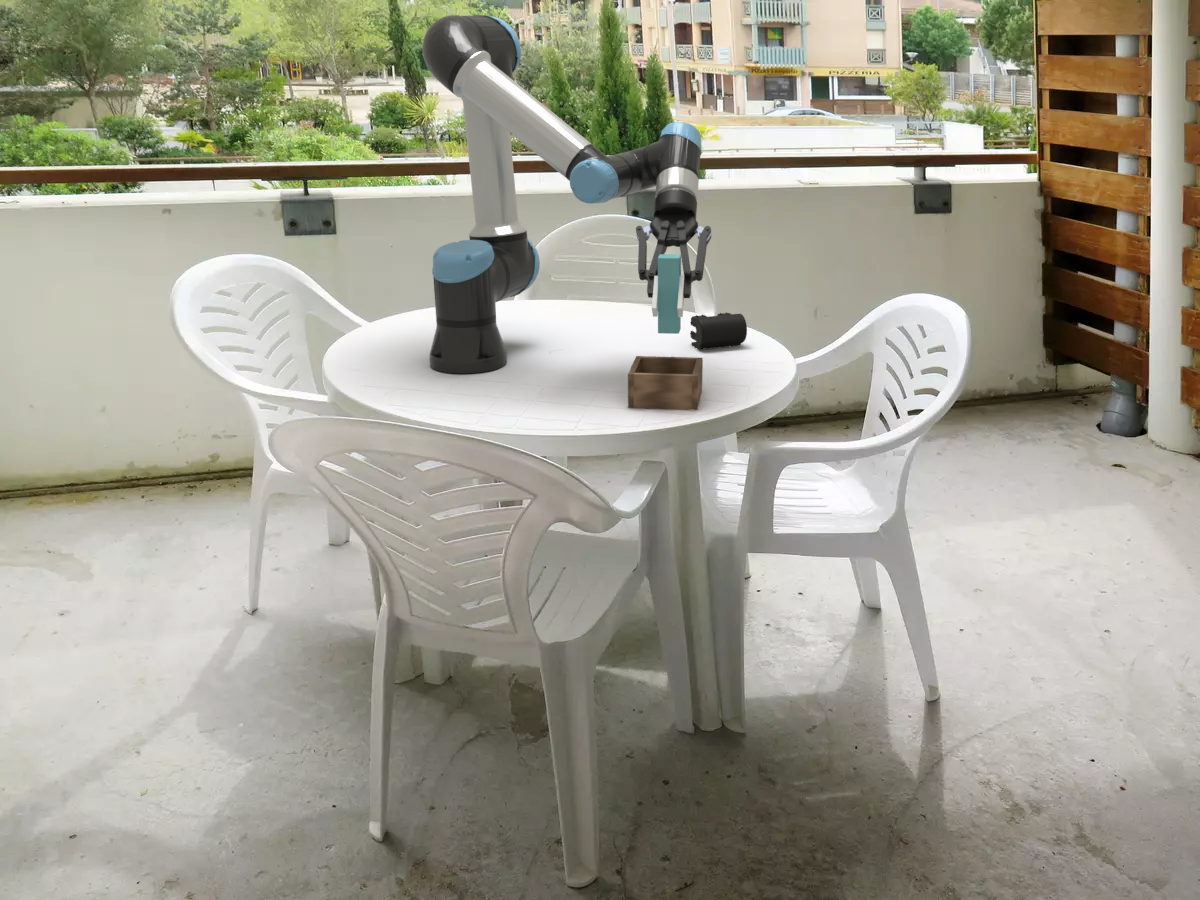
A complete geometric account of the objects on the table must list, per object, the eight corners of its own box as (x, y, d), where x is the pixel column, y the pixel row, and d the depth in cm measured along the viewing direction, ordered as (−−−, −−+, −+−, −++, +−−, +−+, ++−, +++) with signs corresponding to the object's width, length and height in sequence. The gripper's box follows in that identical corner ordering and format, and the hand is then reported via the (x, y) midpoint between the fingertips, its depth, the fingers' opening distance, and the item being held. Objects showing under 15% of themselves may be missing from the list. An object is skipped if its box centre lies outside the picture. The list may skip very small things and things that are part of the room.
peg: (657, 333, 202) (657, 258, 197) (660, 328, 205) (659, 254, 201) (678, 333, 201) (679, 258, 197) (680, 328, 204) (680, 254, 200)
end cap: (701, 353, 236) (702, 321, 234) (688, 345, 243) (688, 313, 240) (747, 349, 239) (747, 316, 237) (732, 341, 246) (733, 309, 243)
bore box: (628, 407, 203) (627, 374, 201) (636, 387, 214) (636, 356, 212) (697, 409, 201) (697, 376, 199) (702, 389, 212) (702, 357, 210)
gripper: (723, 213, 210) (717, 324, 200) (631, 213, 213) (620, 323, 203) (722, 186, 203) (715, 301, 193) (627, 187, 206) (616, 299, 196)
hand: (667, 312), depth 198 cm, fingers closed on peg, 4 cm apart
